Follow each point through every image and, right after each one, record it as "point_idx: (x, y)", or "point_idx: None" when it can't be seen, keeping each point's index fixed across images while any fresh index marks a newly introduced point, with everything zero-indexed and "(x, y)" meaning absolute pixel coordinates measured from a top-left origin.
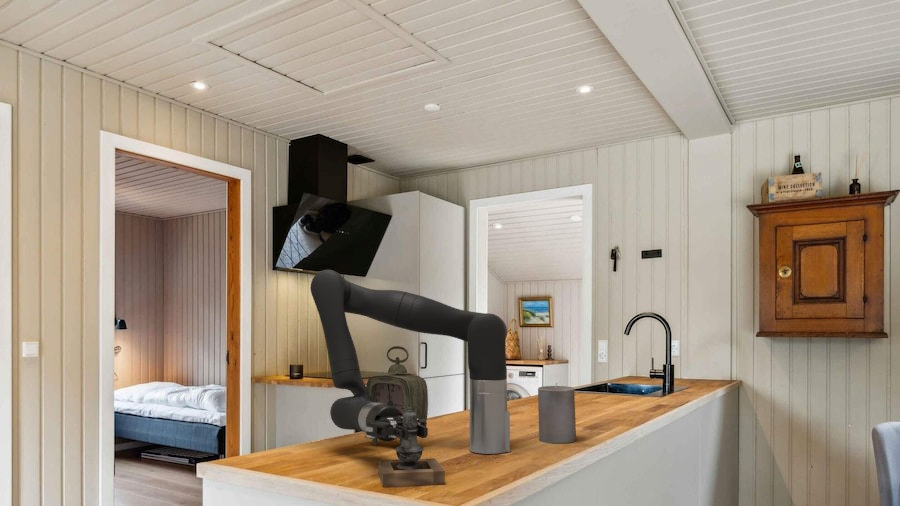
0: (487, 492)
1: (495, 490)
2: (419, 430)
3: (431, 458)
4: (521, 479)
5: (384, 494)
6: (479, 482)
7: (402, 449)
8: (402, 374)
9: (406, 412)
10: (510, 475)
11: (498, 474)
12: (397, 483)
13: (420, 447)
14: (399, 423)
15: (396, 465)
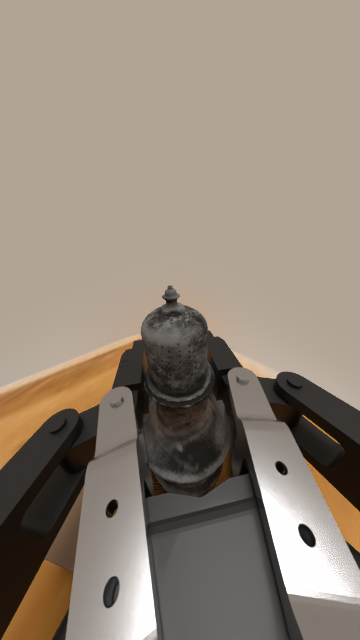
0: (126, 344)
1: (113, 347)
2: (146, 367)
3: (55, 560)
4: (37, 376)
5: (243, 365)
6: (95, 380)
7: (209, 395)
8: None
9: (192, 308)
10: (15, 403)
11: (16, 418)
12: None
13: (152, 402)
14: (208, 495)
15: (221, 468)
